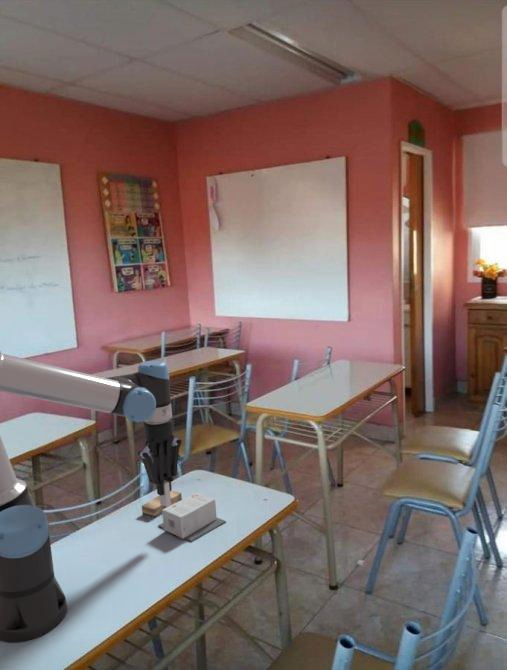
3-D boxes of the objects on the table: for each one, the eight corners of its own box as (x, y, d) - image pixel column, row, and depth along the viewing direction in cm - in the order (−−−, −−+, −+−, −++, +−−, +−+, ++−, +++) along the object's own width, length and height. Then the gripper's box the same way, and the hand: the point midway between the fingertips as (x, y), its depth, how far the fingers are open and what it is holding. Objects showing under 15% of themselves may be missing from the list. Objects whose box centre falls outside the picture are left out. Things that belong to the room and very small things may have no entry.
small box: (182, 539, 147) (217, 519, 157) (180, 517, 146) (215, 498, 156) (163, 530, 153) (198, 511, 162) (161, 509, 152) (196, 491, 161)
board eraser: (155, 519, 161) (154, 509, 160) (142, 516, 164) (141, 505, 163) (182, 502, 171) (181, 493, 170) (169, 499, 173) (169, 489, 173)
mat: (191, 542, 147) (191, 540, 146) (158, 526, 156) (158, 525, 156) (225, 522, 156) (225, 521, 156) (192, 508, 165) (192, 507, 165)
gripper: (146, 429, 137) (155, 518, 141) (186, 415, 147) (193, 499, 150) (128, 424, 142) (137, 510, 146) (168, 411, 152) (175, 492, 155)
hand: (165, 504), depth 148 cm, fingers closed
